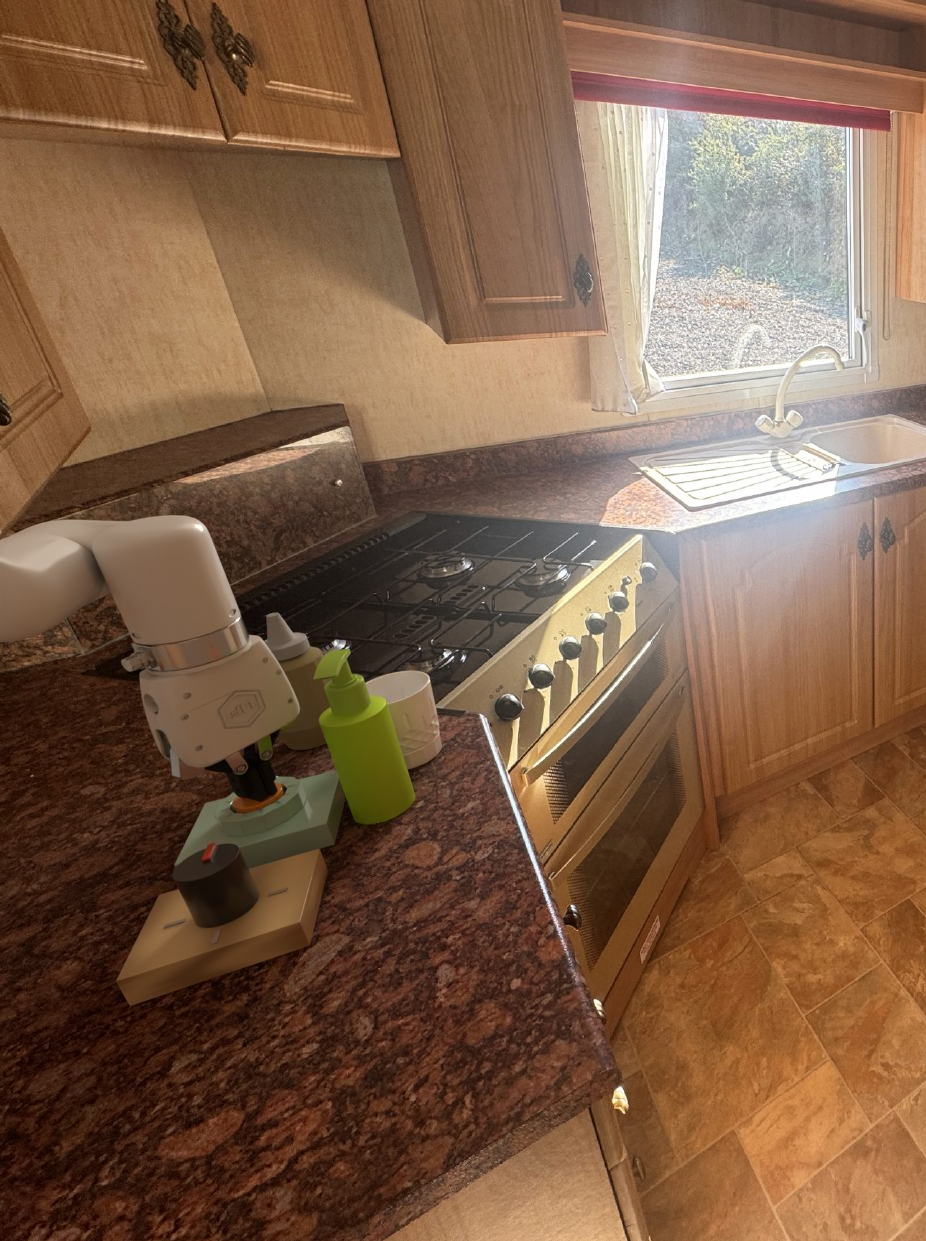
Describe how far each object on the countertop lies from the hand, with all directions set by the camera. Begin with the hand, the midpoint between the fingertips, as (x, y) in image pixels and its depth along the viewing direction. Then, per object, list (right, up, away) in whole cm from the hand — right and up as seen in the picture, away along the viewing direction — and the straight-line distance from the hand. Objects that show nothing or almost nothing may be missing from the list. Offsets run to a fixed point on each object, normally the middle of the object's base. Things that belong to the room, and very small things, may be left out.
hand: (259, 794), depth 76 cm
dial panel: (+7, -10, -9) cm, 15 cm away
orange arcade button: (0, -2, +1) cm, 2 cm away
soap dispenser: (+9, -4, +6) cm, 11 cm away
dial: (+7, -7, -10) cm, 14 cm away
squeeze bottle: (-9, +1, +18) cm, 20 cm away
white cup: (+6, 0, +15) cm, 16 cm away
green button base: (0, -5, +2) cm, 5 cm away
